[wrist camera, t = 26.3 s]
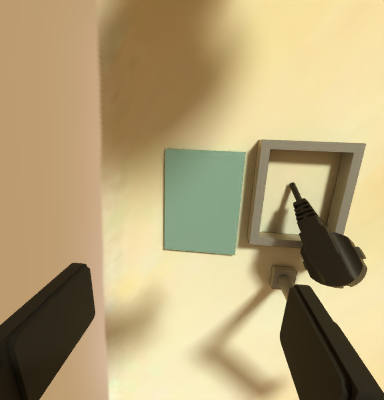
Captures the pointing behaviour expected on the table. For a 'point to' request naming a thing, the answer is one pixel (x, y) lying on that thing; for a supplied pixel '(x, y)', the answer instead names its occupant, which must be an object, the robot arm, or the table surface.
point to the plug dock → (338, 210)
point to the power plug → (326, 249)
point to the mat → (202, 200)
